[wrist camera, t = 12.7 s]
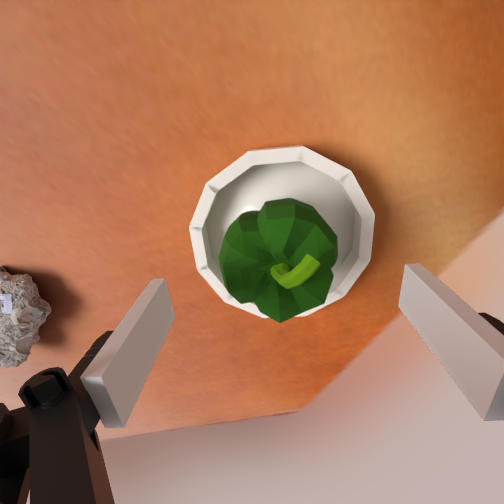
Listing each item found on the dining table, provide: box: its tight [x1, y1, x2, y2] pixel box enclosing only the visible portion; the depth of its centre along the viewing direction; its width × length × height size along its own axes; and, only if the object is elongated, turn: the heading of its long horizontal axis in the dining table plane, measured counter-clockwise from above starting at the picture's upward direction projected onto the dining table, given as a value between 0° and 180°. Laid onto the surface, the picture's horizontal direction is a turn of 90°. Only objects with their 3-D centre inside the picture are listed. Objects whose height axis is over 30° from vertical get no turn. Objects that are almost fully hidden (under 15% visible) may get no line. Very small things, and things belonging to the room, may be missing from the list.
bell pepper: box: [218, 198, 338, 323], centre depth 20 cm, size 8×8×10 cm
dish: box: [189, 145, 375, 318], centre depth 24 cm, size 15×15×3 cm
